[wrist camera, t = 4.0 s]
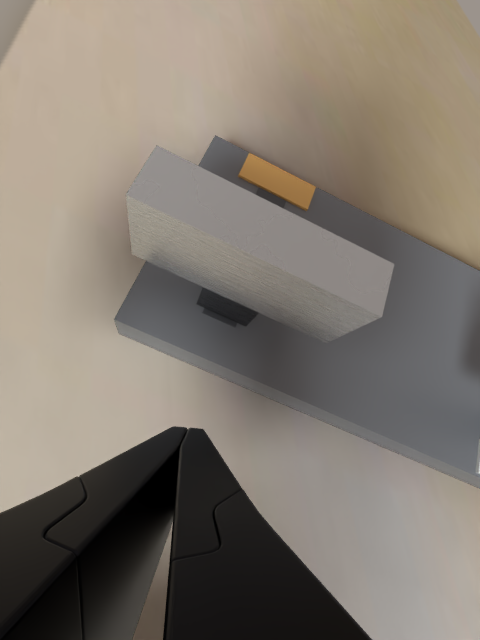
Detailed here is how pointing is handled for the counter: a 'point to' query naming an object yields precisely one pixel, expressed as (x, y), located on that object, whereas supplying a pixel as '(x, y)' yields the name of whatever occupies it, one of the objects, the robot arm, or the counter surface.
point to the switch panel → (347, 350)
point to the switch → (251, 252)
